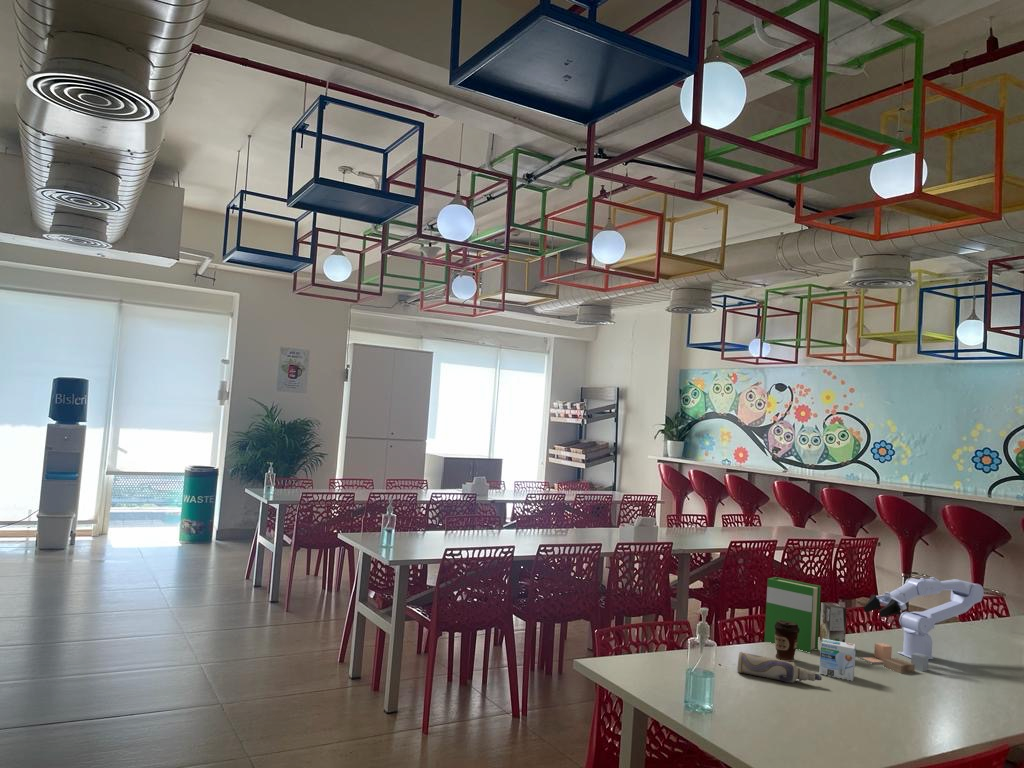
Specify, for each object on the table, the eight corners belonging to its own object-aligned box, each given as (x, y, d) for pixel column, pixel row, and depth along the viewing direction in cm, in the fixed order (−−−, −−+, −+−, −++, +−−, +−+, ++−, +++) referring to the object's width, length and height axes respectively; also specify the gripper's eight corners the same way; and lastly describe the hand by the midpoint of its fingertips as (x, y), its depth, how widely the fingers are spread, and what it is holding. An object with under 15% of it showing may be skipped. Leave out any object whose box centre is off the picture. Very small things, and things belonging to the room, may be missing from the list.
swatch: (873, 657, 270) (873, 656, 270) (888, 664, 263) (888, 662, 263) (858, 658, 268) (858, 656, 268) (871, 664, 262) (872, 662, 262)
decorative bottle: (735, 675, 238) (737, 654, 238) (738, 669, 245) (739, 649, 245) (821, 691, 228) (822, 669, 228) (821, 684, 235) (822, 663, 235)
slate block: (916, 666, 263) (917, 652, 263) (927, 670, 260) (928, 656, 260) (910, 668, 261) (911, 654, 261) (922, 671, 257) (922, 657, 258)
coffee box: (845, 651, 277) (847, 608, 278) (828, 649, 277) (830, 606, 278) (835, 644, 286) (837, 602, 287) (818, 642, 286) (820, 601, 287)
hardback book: (817, 650, 275) (820, 586, 277) (809, 653, 270) (812, 588, 272) (772, 638, 288) (775, 577, 289) (764, 641, 282) (767, 578, 284)
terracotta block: (883, 656, 273) (883, 643, 273) (891, 660, 269) (891, 646, 269) (874, 656, 272) (874, 643, 272) (882, 660, 268) (882, 646, 268)
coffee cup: (785, 663, 254) (787, 626, 255) (767, 656, 262) (769, 619, 262) (802, 661, 258) (804, 624, 259) (784, 654, 266) (786, 618, 266)
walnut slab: (896, 666, 263) (896, 658, 263) (914, 672, 256) (914, 664, 256) (883, 667, 260) (883, 659, 260) (900, 674, 253) (901, 665, 253)
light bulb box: (818, 674, 245) (820, 642, 246) (820, 669, 251) (821, 637, 252) (853, 681, 240) (855, 648, 241) (854, 676, 246) (856, 644, 247)
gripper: (881, 583, 282) (854, 597, 279) (911, 590, 269) (883, 606, 265) (887, 600, 283) (860, 615, 279) (917, 608, 269) (890, 624, 265)
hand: (872, 611), depth 272 cm, fingers open, 7 cm apart
